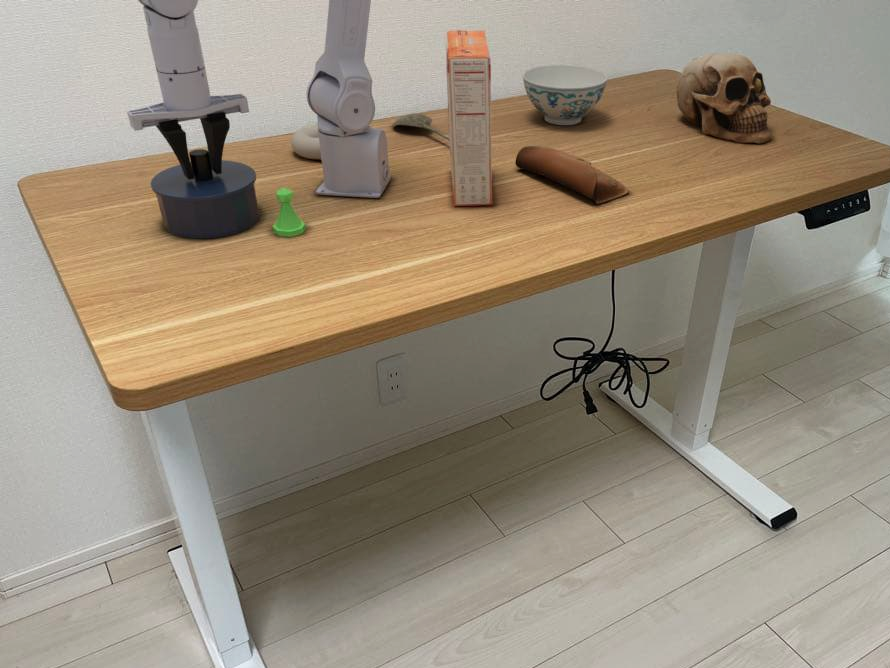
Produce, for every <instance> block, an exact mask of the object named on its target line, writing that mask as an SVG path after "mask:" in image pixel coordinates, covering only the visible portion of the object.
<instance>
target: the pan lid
mask: <svg viewBox="0 0 890 668" xmlns="http://www.w3.org/2000/svg"><path fill="white" fill-rule="evenodd" d="M188 155H189V159H190V162H191V166H192V170H193V174H194V179H190V180H188V178H187V177H186V176H185V175H184V173H183V170H182V167H181V165H180V164H177V165H174V166H171V167H168V168H166V169H164V170H162V171H160V172H158V173H156V174H155V175H154V176H153V178H152V179H151V181H150V188H151V191H152V192H153V193H154V194H155V195H156V194H157V195H159V196H161V197H164V198H167V199H171V200H178V201H206V200H214V199H219V198H224V197H228V196H232V195H235V194H238V193H240V192H242V191H244V190H246V189H248V188H249V187H251V186H252V185H253V184H254V185H255V183H256V181H257V174H256V173H257V172H256V170H255V169H254V168H252V167H251V166H249V165H248V164H245V163H242V162H238V161H234V160H233V161H232V160H223V159H222V173H221V174H216V173H215V172H214V171H213V170H212V168H211V163H210V158H209V153H208V149H203V148H199V149H198V148H197V149H193V150H190V151H188ZM157 195H156V196H157Z"/></svg>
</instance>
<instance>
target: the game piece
mask: <svg viewBox="0 0 890 668" xmlns="http://www.w3.org/2000/svg"><path fill="white" fill-rule="evenodd" d="M293 199H294V191H292V190H291V189H289V188H287V187H281V188H280V189H278V190H277V191H276V200H277V201H278V202H280V203H281V205H280V208H279V212H278V215H277V219H276V222H275V223H274V224H273V225H272V232H273V233H274V234H275V235H276V236H278V237H284V238H285V237H286V238H292V237H297V236H299V235H303V234H304V232H306V230H307V226H306V223H305V222H304V221H303V220H301V219H300V217H299V216H298V214H297V213H296V211H295V209H294V207H293V206H292V204H291V202H293Z"/></svg>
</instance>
